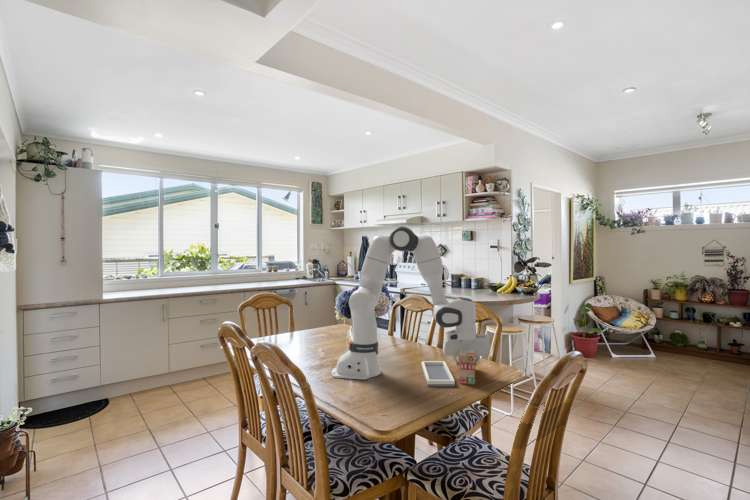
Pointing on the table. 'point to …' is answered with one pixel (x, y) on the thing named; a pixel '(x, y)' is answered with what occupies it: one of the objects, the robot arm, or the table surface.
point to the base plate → (437, 374)
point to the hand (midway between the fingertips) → (466, 365)
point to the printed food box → (467, 366)
